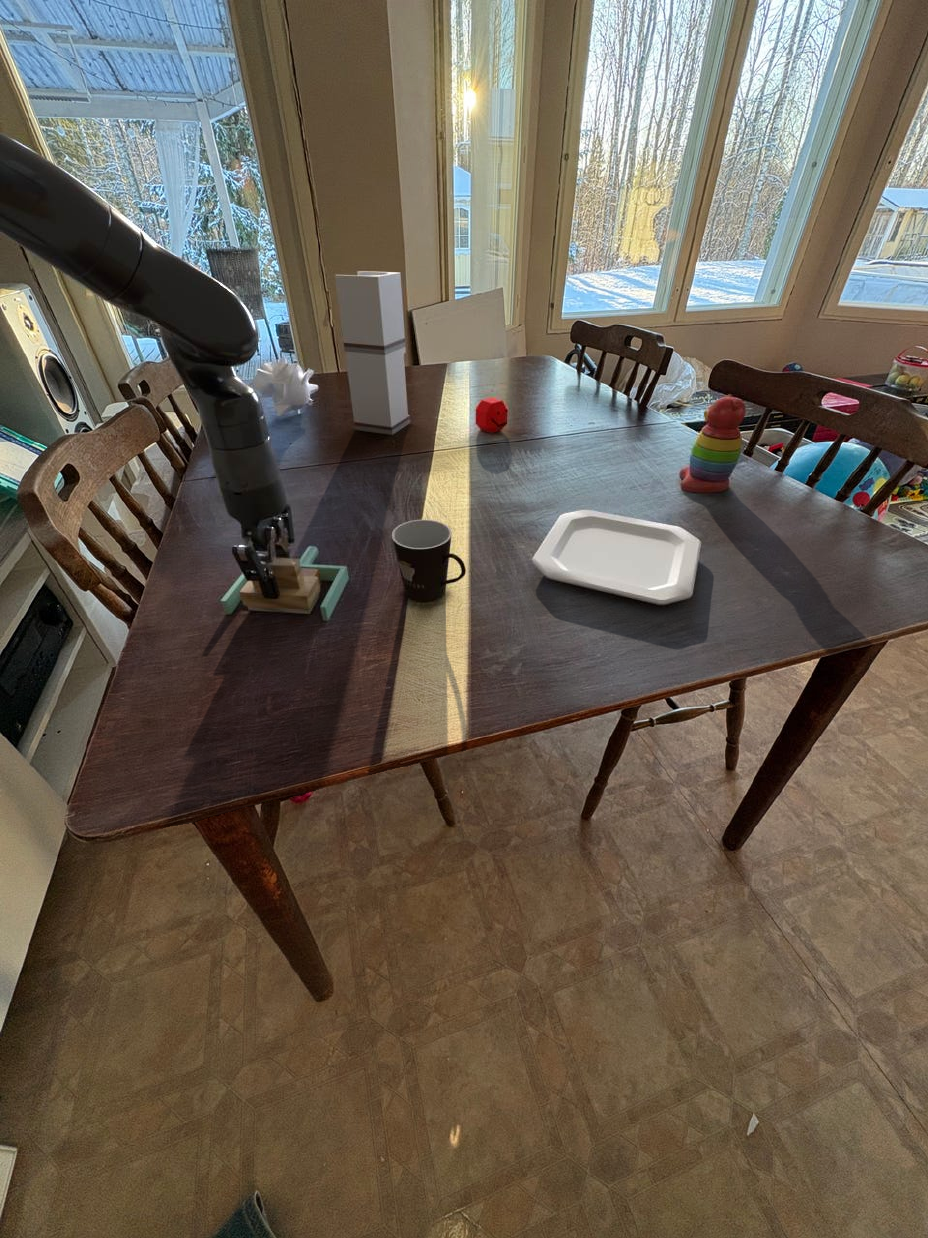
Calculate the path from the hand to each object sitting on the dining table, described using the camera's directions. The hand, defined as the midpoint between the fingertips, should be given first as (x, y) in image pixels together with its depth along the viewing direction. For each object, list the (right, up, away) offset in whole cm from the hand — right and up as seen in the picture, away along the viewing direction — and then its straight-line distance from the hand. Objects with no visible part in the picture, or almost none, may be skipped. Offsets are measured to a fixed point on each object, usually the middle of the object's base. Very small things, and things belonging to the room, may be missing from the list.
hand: (279, 585), depth 75 cm
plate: (+53, +5, +12) cm, 54 cm away
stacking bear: (+79, +24, +36) cm, 90 cm away
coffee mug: (+22, -1, +4) cm, 22 cm away
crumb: (+3, 0, +5) cm, 6 cm away
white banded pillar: (+5, +48, +66) cm, 82 cm away
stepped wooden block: (0, -3, +2) cm, 3 cm away
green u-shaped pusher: (+1, +1, +6) cm, 6 cm away
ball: (+34, +46, +63) cm, 86 cm away
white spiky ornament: (-25, +56, +76) cm, 98 cm away
